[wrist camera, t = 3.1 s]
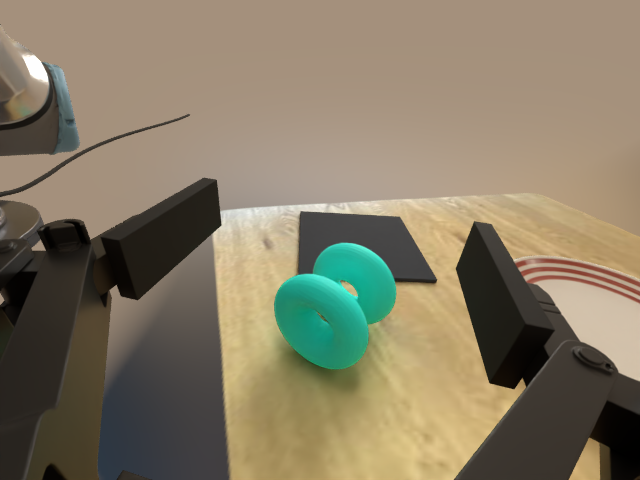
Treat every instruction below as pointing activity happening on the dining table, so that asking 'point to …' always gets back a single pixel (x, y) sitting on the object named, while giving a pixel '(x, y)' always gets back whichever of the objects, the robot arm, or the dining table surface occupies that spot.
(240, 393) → the dining table surface
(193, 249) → the robot arm
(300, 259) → the placemat
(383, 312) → the donuts
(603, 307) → the dinner plate
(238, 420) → the dining table surface
